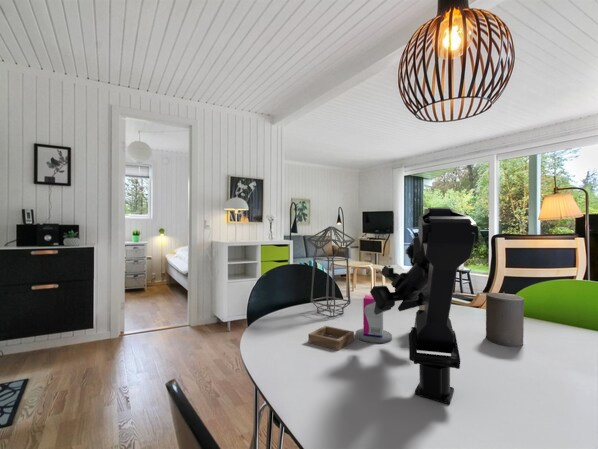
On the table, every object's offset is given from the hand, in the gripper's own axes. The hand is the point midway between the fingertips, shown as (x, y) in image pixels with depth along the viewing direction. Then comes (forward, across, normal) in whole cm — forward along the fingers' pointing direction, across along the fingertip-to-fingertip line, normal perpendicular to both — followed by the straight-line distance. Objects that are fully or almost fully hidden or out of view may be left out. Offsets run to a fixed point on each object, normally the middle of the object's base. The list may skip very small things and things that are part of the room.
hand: (387, 311), depth 90 cm
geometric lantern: (+32, -3, -18) cm, 37 cm away
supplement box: (+10, 0, +2) cm, 11 cm away
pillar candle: (-3, -34, +16) cm, 38 cm away
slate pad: (+11, 0, +2) cm, 11 cm away
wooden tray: (+13, +14, 0) cm, 19 cm away
